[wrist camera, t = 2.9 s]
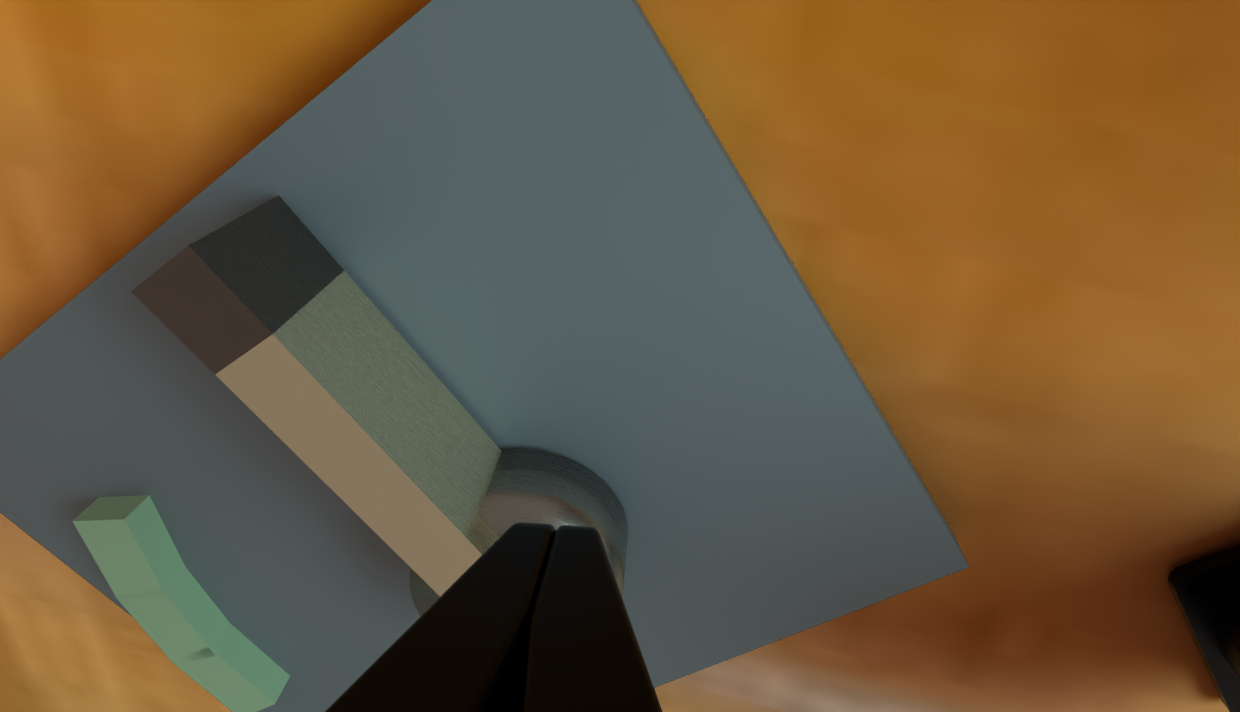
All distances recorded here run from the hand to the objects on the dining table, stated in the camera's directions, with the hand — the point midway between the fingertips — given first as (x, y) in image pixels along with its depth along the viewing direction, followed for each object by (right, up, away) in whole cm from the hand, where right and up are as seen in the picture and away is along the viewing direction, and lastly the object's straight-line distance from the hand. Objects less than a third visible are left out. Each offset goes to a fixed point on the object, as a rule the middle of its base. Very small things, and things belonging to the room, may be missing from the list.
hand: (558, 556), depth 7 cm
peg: (-4, 0, +10) cm, 11 cm away
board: (-4, -1, +13) cm, 14 cm away
